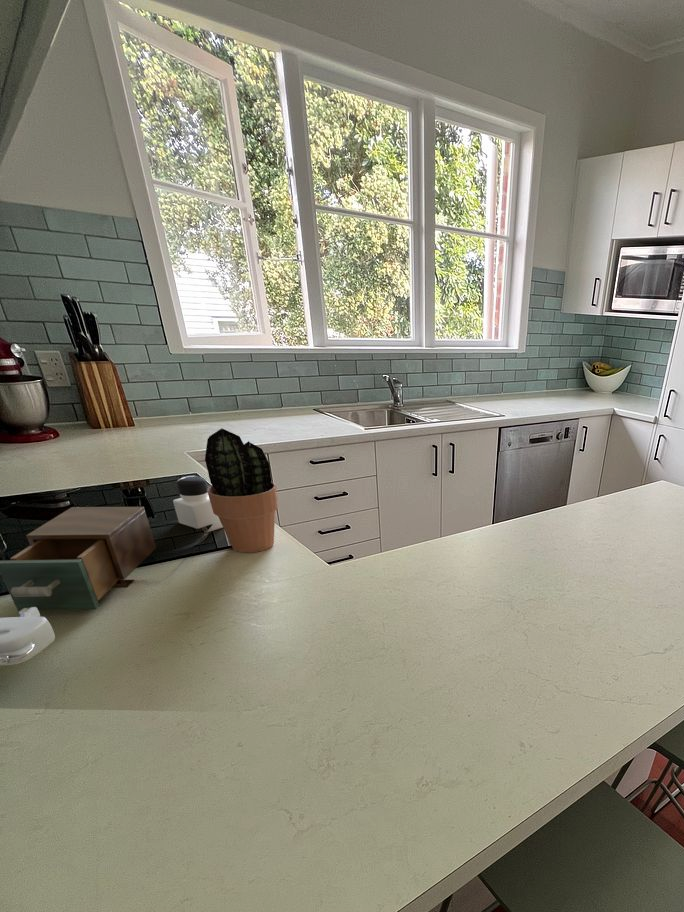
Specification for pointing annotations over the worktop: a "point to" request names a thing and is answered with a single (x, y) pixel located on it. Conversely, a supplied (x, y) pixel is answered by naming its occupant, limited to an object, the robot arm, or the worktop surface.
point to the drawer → (60, 574)
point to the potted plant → (241, 491)
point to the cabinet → (105, 534)
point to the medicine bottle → (195, 504)
